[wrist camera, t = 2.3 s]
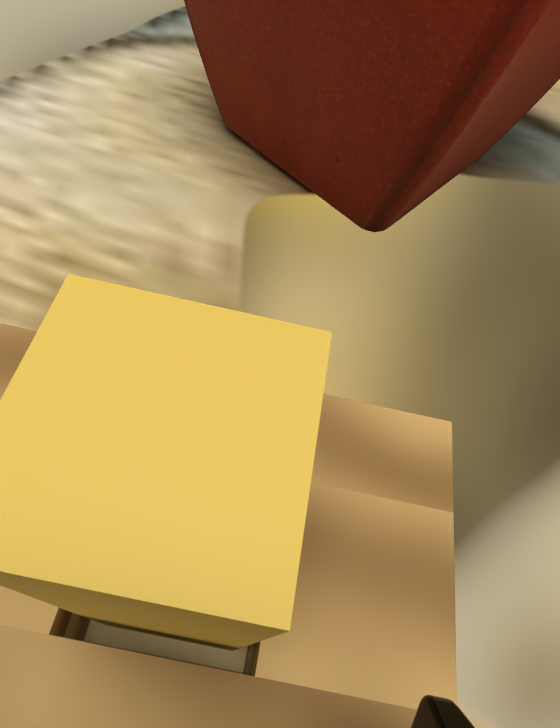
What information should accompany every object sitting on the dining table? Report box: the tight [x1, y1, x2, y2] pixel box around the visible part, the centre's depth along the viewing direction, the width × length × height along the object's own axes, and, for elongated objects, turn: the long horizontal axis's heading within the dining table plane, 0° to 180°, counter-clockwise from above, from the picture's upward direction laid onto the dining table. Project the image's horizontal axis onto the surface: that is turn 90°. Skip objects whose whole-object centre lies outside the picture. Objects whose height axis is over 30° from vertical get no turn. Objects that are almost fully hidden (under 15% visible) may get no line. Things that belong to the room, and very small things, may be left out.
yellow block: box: [0, 274, 332, 651], centre depth 11 cm, size 4×4×12 cm
